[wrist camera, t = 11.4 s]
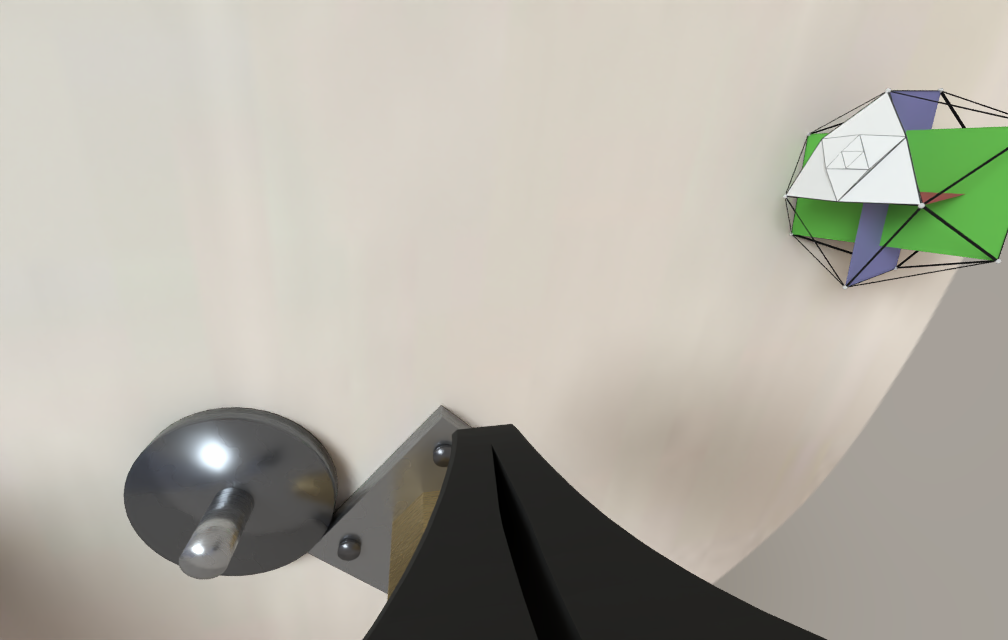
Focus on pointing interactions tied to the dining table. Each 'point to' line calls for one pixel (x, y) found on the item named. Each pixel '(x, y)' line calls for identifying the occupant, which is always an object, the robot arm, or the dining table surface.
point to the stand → (231, 492)
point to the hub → (387, 502)
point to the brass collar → (409, 535)
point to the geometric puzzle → (903, 186)
